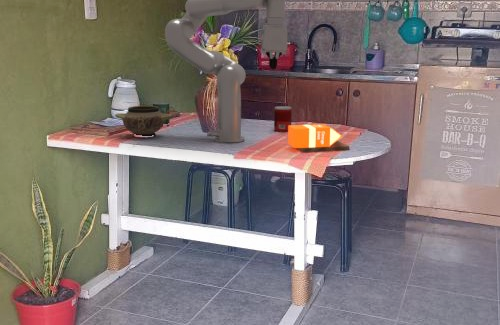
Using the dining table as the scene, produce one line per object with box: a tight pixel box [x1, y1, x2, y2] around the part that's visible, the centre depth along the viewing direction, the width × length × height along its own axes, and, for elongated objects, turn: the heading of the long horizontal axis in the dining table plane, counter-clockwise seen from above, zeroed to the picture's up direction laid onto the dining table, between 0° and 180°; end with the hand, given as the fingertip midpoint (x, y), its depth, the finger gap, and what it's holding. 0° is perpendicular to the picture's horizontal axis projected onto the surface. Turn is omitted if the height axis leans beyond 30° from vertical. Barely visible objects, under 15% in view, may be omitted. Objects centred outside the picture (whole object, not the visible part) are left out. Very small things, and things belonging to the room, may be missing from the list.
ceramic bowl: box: [114, 105, 173, 136], centre depth 259 cm, size 24×18×15 cm
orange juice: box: [287, 123, 344, 149], centre depth 237 cm, size 8×9×20 cm
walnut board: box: [294, 140, 350, 153], centre depth 241 cm, size 20×16×2 cm
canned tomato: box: [152, 101, 171, 124], centre depth 288 cm, size 8×8×11 cm
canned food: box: [273, 105, 293, 133], centre depth 277 cm, size 8×8×11 cm
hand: (272, 68), depth 243 cm, fingers closed
